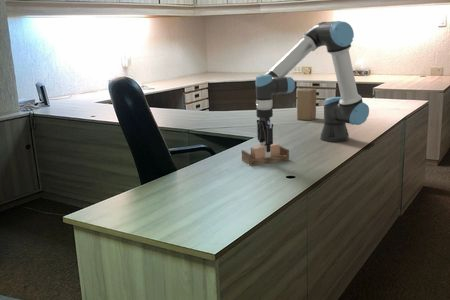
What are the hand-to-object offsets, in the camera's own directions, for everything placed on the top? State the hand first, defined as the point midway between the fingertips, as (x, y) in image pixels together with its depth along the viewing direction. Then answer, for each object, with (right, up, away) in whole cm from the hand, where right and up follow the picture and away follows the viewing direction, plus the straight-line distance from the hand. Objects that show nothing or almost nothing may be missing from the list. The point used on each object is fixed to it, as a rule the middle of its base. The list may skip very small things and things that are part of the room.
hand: (265, 156), depth 232 cm
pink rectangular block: (0, -1, 0) cm, 1 cm away
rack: (0, -2, 0) cm, 2 cm away
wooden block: (+35, +24, +95) cm, 104 cm away
